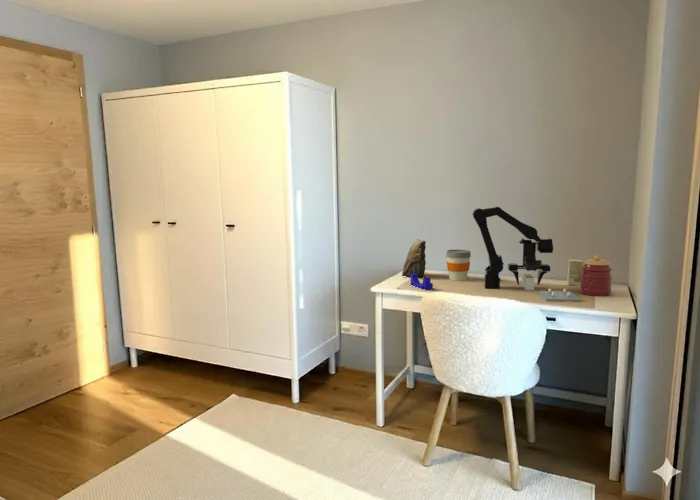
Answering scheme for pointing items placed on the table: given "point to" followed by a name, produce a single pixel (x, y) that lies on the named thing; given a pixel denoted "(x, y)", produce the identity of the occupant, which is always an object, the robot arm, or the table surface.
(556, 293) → the pin tray
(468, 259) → the reusable coffee cup
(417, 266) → the brown tall pointed piece
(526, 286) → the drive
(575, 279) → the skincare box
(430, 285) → the cable clip
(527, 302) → the table surface
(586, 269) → the canister
